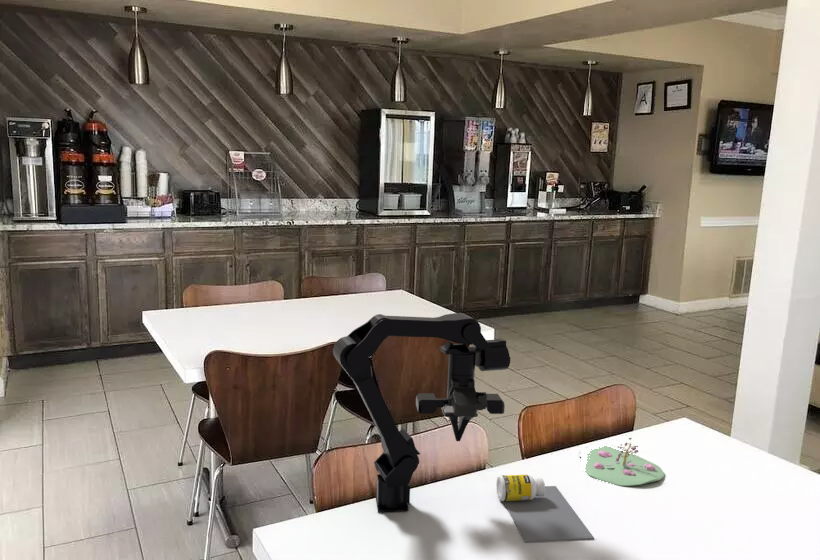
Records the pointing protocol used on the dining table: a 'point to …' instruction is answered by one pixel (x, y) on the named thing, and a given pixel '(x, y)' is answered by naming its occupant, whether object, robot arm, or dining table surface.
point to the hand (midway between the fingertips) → (457, 440)
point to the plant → (621, 467)
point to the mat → (547, 518)
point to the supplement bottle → (519, 487)
